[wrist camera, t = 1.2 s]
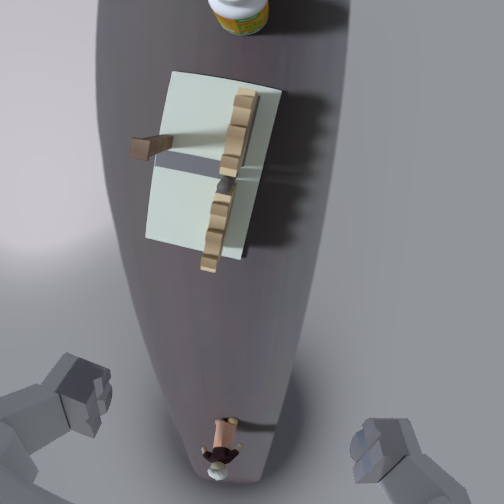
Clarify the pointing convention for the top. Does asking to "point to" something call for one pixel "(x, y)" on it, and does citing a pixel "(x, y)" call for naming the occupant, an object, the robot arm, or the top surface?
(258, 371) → the top surface
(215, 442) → the grandmother figurine
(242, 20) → the supplement bottle
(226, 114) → the card
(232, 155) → the fence fixed
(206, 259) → the notched wooden plank
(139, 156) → the corner post
